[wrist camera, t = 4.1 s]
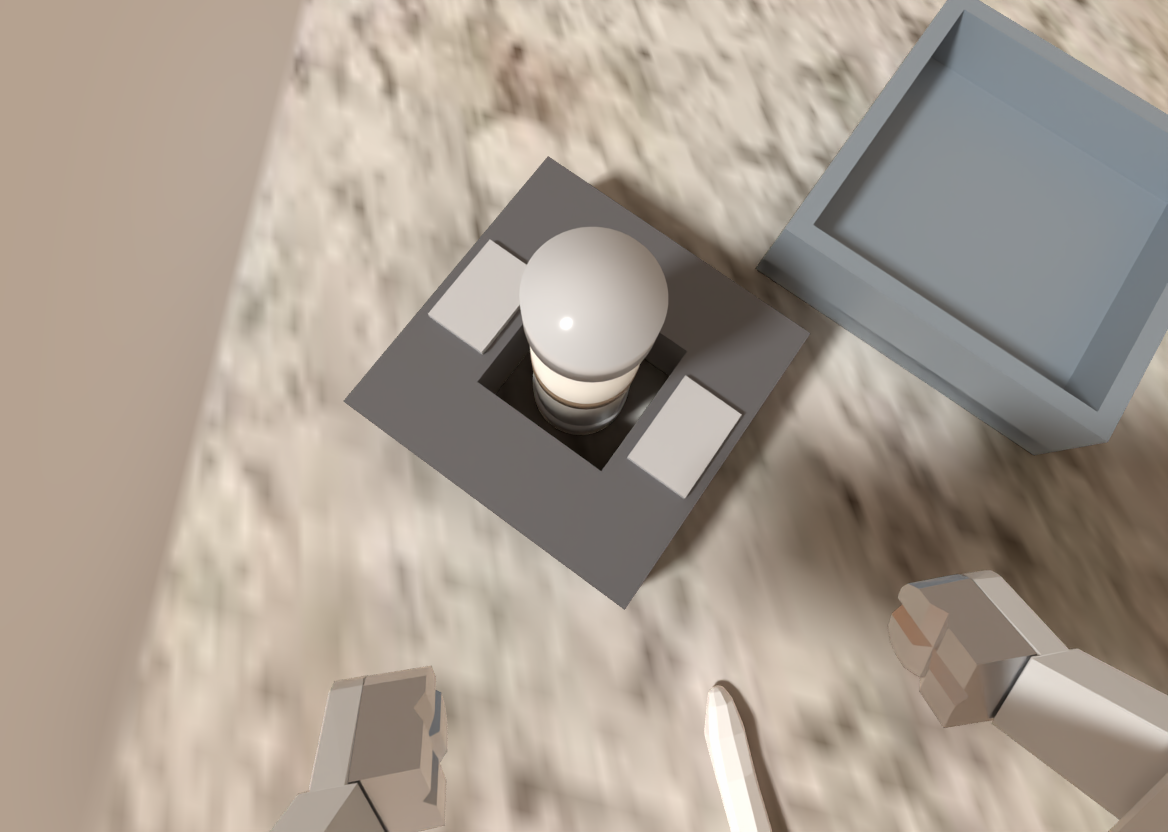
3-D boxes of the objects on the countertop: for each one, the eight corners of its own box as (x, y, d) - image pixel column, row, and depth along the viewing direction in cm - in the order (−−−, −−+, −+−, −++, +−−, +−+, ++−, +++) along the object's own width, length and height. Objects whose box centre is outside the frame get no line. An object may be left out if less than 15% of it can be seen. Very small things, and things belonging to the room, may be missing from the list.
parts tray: (1169, 212, 28) (1253, 166, 25) (1033, 455, 26) (1107, 442, 22) (909, 51, 29) (956, -14, 26) (755, 268, 27) (784, 228, 23)
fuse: (643, 380, 25) (696, 281, 16) (590, 453, 25) (612, 397, 15) (569, 328, 26) (577, 200, 16) (515, 399, 25) (488, 309, 15)
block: (776, 360, 26) (813, 330, 22) (614, 599, 24) (625, 610, 20) (549, 205, 27) (548, 151, 23) (373, 420, 25) (340, 399, 21)
